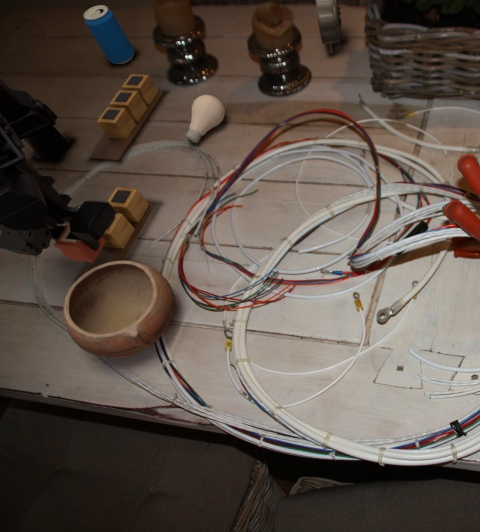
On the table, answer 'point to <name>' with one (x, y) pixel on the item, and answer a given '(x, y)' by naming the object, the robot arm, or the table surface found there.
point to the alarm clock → (329, 21)
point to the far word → (126, 117)
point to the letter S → (77, 247)
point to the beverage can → (109, 34)
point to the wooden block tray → (122, 226)
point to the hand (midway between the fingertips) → (85, 247)
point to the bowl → (118, 308)
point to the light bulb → (204, 116)
